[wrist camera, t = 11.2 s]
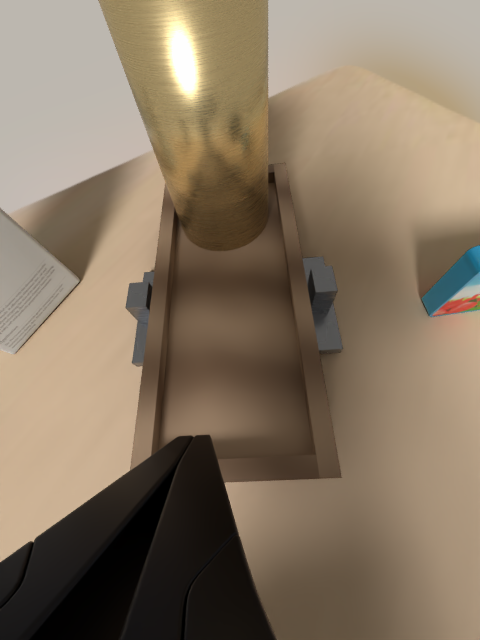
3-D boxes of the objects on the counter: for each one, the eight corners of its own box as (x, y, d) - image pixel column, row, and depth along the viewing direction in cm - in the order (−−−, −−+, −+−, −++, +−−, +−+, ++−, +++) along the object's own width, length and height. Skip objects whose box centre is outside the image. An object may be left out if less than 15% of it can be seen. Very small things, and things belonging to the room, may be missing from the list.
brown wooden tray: (332, 475, 15) (341, 477, 13) (145, 483, 16) (128, 486, 14) (283, 185, 25) (285, 162, 23) (173, 197, 26) (166, 176, 24)
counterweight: (285, 208, 22) (307, -108, 10) (229, 265, 20) (167, -43, 8) (220, 177, 25) (173, -108, 12) (164, 225, 23) (39, -59, 10)
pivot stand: (340, 352, 20) (354, 332, 17) (136, 366, 21) (112, 349, 18) (321, 262, 24) (329, 231, 20) (147, 277, 24) (129, 250, 21)
